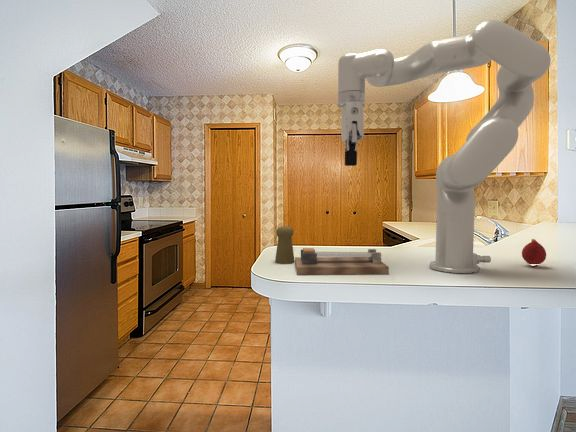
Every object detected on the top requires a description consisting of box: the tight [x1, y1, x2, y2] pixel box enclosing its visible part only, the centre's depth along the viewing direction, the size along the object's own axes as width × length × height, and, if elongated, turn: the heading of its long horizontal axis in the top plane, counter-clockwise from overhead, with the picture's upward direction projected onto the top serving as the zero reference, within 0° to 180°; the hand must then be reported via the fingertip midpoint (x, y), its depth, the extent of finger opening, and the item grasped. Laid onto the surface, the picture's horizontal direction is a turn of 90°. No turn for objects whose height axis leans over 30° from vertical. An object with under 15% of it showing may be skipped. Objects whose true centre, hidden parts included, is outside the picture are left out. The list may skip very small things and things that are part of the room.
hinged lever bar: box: [302, 247, 373, 257], centre depth 103 cm, size 20×4×2 cm, turn 91°
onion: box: [521, 238, 547, 265], centre depth 105 cm, size 6×6×8 cm
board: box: [294, 248, 390, 276], centre depth 103 cm, size 24×14×5 cm, turn 91°
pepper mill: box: [274, 225, 295, 265], centre depth 112 cm, size 6×6×11 cm
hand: (350, 165), depth 106 cm, fingers closed
